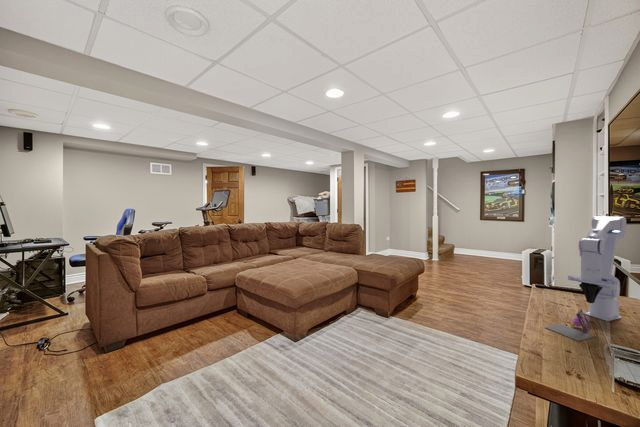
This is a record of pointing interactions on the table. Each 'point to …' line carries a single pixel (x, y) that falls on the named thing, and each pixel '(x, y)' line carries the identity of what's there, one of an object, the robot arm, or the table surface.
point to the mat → (570, 332)
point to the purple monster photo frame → (581, 321)
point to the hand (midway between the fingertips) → (590, 302)
